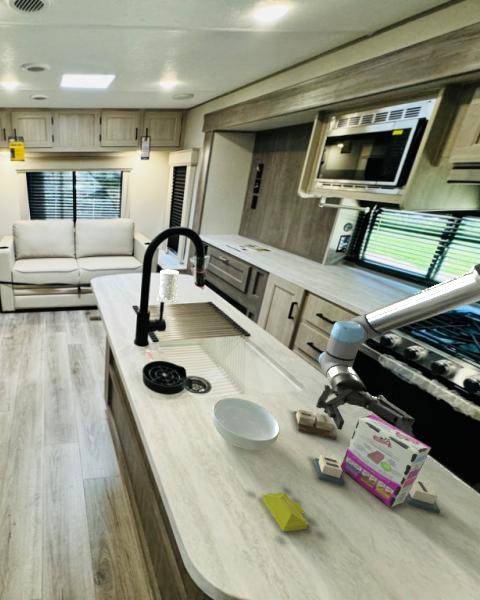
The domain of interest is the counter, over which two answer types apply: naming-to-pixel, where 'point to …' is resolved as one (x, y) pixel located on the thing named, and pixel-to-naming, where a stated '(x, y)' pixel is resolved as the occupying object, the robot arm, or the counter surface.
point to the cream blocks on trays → (417, 497)
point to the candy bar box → (384, 459)
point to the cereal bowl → (245, 423)
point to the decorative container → (168, 284)
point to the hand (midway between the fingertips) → (375, 433)
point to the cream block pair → (314, 424)
